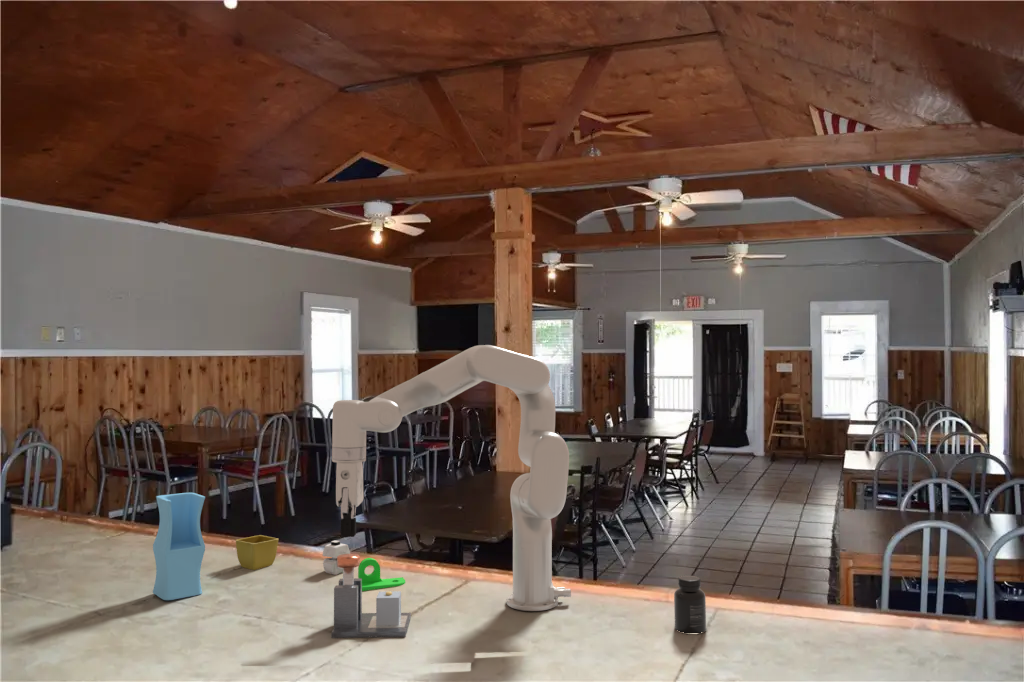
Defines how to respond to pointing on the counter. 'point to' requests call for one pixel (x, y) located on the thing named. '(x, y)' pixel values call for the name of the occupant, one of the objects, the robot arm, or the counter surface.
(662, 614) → the counter surface
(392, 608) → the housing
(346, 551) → the grey blocky fitting
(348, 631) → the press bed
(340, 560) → the ram
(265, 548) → the flower pot
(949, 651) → the counter surface
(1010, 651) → the counter surface
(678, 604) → the supplement bottle
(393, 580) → the mechanical part
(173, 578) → the vase
